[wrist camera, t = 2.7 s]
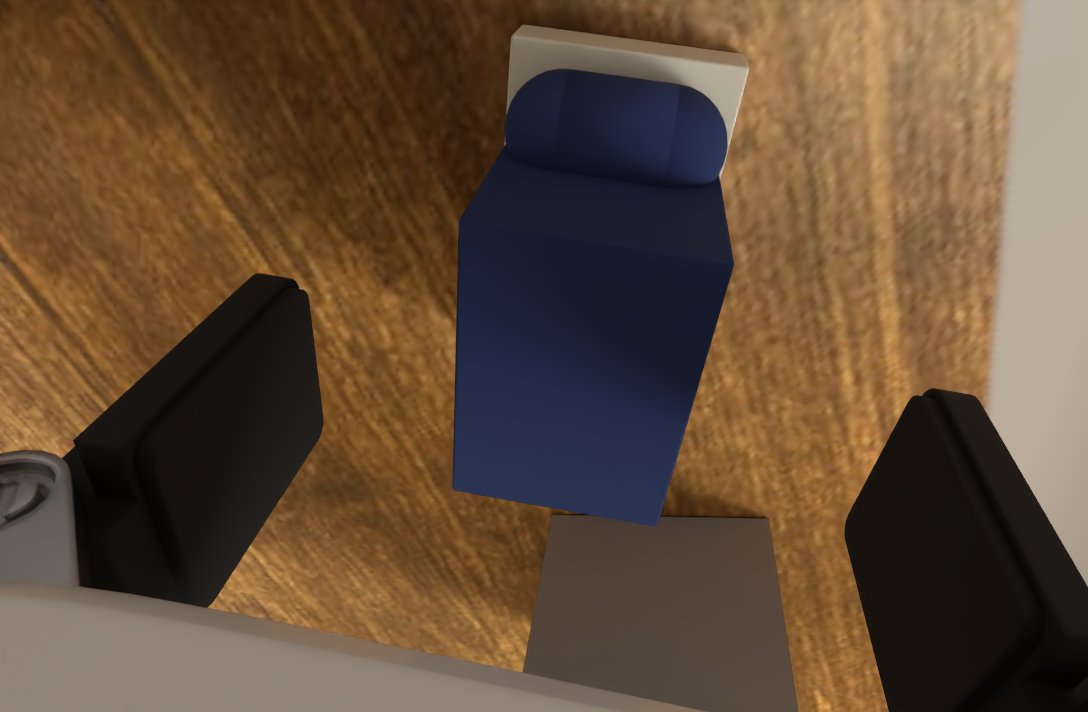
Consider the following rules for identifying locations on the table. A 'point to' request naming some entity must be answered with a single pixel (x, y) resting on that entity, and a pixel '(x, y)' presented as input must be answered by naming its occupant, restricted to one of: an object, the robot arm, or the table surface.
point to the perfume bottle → (664, 612)
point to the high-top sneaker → (593, 272)
